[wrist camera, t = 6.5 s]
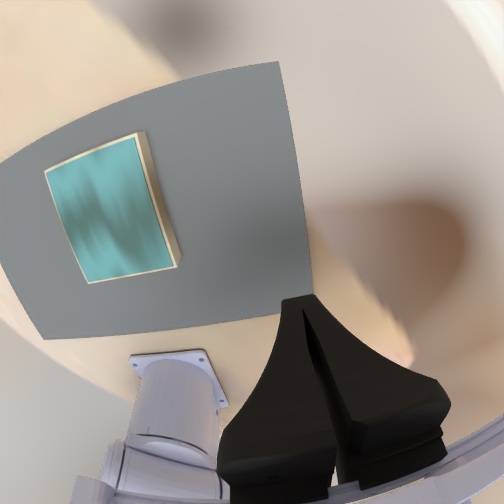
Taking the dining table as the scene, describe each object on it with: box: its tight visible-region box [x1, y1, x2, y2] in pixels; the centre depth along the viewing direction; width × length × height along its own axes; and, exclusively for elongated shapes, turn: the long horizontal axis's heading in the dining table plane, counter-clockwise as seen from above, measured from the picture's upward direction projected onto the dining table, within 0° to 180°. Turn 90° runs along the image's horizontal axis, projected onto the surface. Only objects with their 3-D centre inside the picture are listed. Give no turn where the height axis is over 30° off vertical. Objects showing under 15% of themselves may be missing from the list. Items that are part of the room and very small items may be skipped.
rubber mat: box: [0, 61, 314, 340], centre depth 20 cm, size 18×28×1 cm, turn 101°
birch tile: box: [44, 131, 181, 284], centre depth 18 cm, size 9×2×8 cm
